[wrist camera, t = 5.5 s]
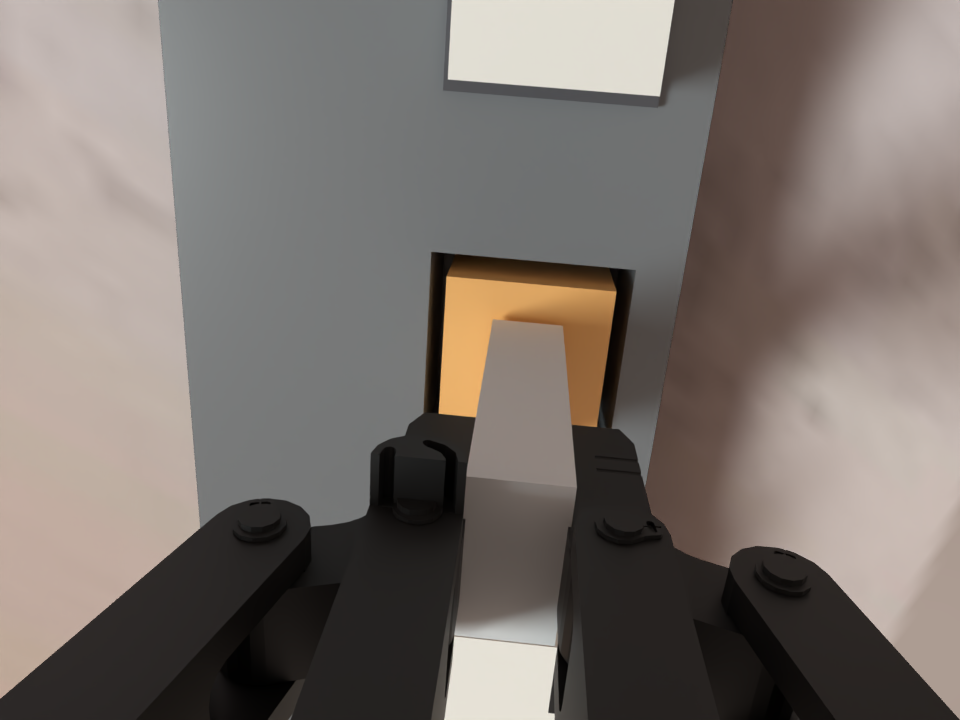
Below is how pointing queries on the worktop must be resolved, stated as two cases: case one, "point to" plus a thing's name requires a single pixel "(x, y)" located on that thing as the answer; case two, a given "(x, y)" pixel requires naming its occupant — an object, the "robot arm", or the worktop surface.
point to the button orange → (525, 298)
